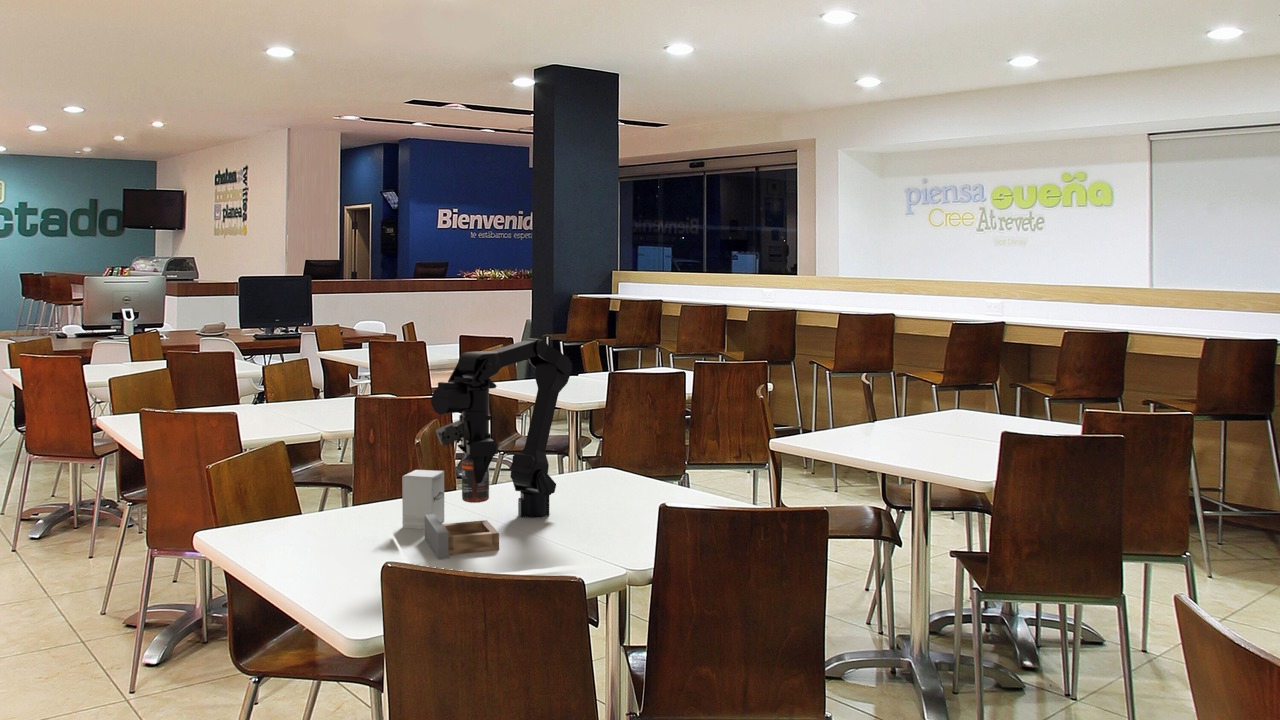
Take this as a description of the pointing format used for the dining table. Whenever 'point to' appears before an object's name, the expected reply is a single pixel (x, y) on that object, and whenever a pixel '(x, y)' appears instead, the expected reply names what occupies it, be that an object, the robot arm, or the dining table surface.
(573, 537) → the dining table surface
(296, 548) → the dining table surface
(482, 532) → the wooden tray
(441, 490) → the supplement box
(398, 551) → the dining table surface
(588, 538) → the dining table surface
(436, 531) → the backstop
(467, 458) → the supplement bottle
